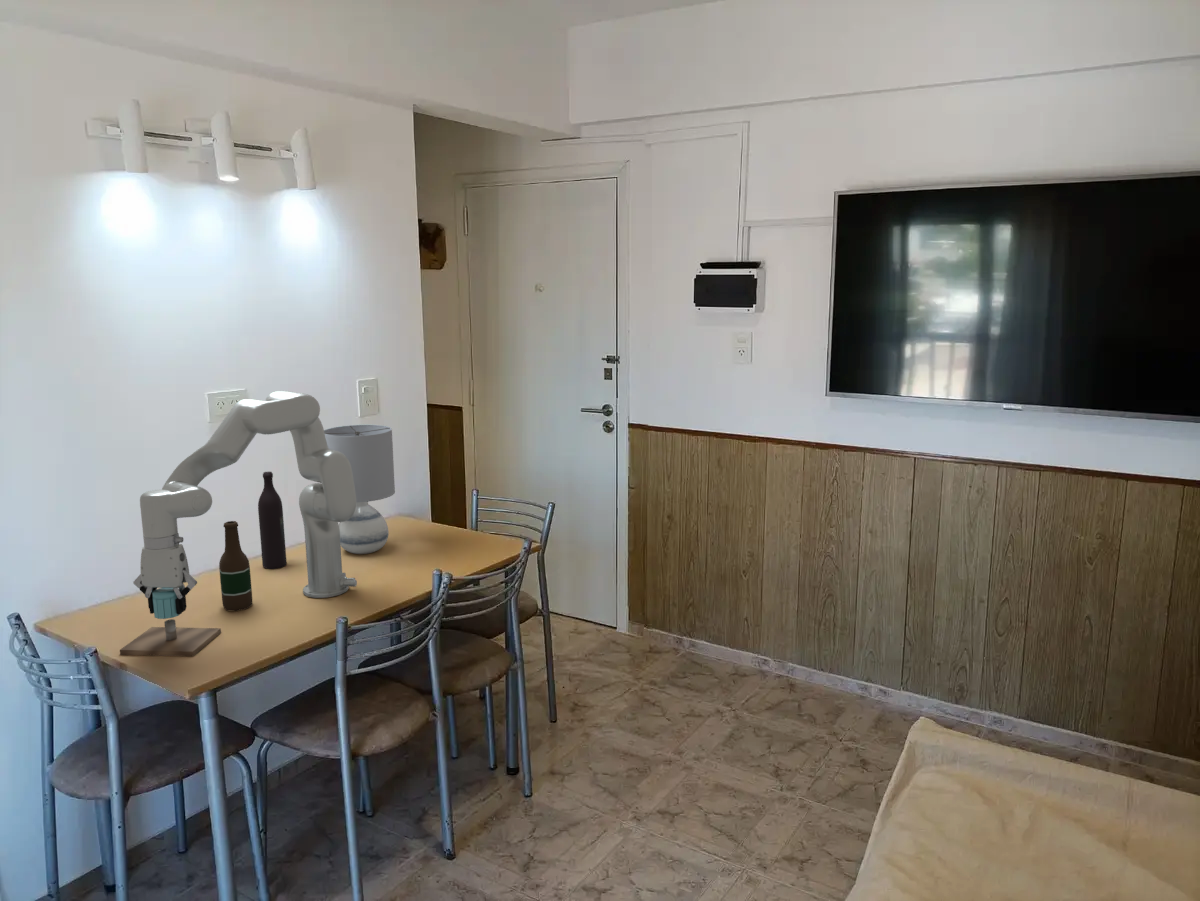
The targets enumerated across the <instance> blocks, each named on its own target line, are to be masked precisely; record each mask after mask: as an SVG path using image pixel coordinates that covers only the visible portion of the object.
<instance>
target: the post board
mask: <svg viewBox="0 0 1200 901" xmlns="http://www.w3.org/2000/svg"><path fill="white" fill-rule="evenodd" d="M163 623H164V626H151V627H150V628H148V629H146V630H145V631H144V632H142V633H141V634H140V635H139V636H137V637H136V638H134V639H133V640H132V641H130V642H129V643H127V644H126V645H124V646H123V647H121V648H120V649H119V655H121V656H122V655H123V656H128V655H129V656H167V657H169V656H170V657H171V656H172V657H195V655H197V654H198V653H199V652H200V651H201V650H203V649H204V648H205V647H206V646H207V645H209V643H211V642H212V641H213V640H214V639H216V638H217V637H218V636H219V635H221V633H222V630H221V629H222V628H219V627H218V628H217V627H215V628H213V627H176V626H177V625H176V619H174V618H173V619H172V618H170V619H168V620H167V619H165V621H164V622H163Z"/></svg>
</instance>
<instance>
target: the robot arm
mask: <svg viewBox="0 0 1200 901" xmlns="http://www.w3.org/2000/svg"><path fill="white" fill-rule="evenodd" d="M320 412H321V405H320V403H319V401H318V400H317V399H316V398H315V397H314V396H312V395H310V394H306V393H301V392H300V393H299V392H294V391H289V390H288V391H287V390H276V391H272V392H271V393H269V394H268V395H267V397H266V398H265V400H261V399H259V400H258V399H253V398H251V399H249V398H245V399H244V398H243V399H241V400H238V401H237V402H236V403H235V404H234V405H233V406H232V408H231V409H230V410H229V412H228V413H227V415H226V416H225V417H224V419H223V420H222V421H221V423H220V424H219V425H218V427H217V428H216V430H215V431H214V432H213V434H212V435H211V437H210V438H209V440H208V441H207V442H206V443H205V444H204V445H203V446H200V447H199V448H198V449H196V451H194V452H192V454H190V455H188V456H187V457H186V458H185V459H184V460H182V461H181V462H180V463H178V465H177V466H176V467H175V469H173V471H172V472H171V474H170V476H169V477H167V480H166V481H165V483H164V484H163V486H162V488H161V489H154V490H153V489H152V490H148V491H146V492H143V493H142V494H141V495H140V497H139V507H140V516H141V527H142V538H143V547H141V554H140V574H139V575H138V576H137V577H136V578H135V579H134V581H132V582H133V585H134V586H136V588H137V589H139V591H141V593H143V595H144V597H145V598H146V599H147V606H148V609H149V614H151V615H152V614H154V606H153V595H152V592H153V591H154V590H156V589H159V588H173V589H174V591H175V593H176V595H177V599H175V603H176V613H177V614H180V615H181V613H183V612H185V611H186V609H187V598H186V597H187V595H188V593H190V591H192V589H193V588H195V586H197V584H198V581H197V579H195V578H194V577H193V576H192V575H191V574H190V569H189V567H190V566H189V562H188V558H187V554H186V550H185V548H184V545H183V544H180V543H183V542H184V537H183V536H180V535H179V534H180V533H179V528H178V519H181V518H195V517H199V516H203V515H204V514H206V513H207V512H208V511H209V510H210V509H211V508H212V505H213V496H212V495H211V493H210V492H209V491H208V490H207V489H205V488H203V487H201V486H198V485H199V484H200V483H201V482H202V481H203V480H204V479H205V478H206V477H207V476H209V475H210V474H212V473H214V472H216V471H218V470H220V469H223V468H227V467H229V466H231V465H233V464H235V463H237V462H238V461H239V459H240V458H241V457H242V455H243V454H244V453H245V452H246V449H248V446H249V445H250V444H251V442H252V441H253V440H254V439H255V437H256V435H257V434H259V435H275V434H281V433H285V432H290V434H291V437H292V440H293V445H294V446H293V447H294V450H295V458H296V462H297V463H296V464H297V468H298V471H299V474H300V476H302V477H303V478H304V479H306V480H308V481H311V482H315V483H310V484H308V485H306V486H305V487H304V488H303V489H302V490H301V492H300V495H299V498H298V506H299V510H300V514H301V518H302V522H303V528H304V539H305V540H304V541H305V557H306V570H307V584H306V585H305V586H304V587H303V589H302V592H303V594H304V596H306V597H308V598H315V599H324V598H325V599H326V598H332V597H336V596H340V595H343V594H345V593H346V592H347V591H348V590H349V588H351V587H353V588H354V587H357V584H358V583H357V582H358V581H357V579H356V578H355V577H347V575H346V574H347V573H346V572H343V566H342V561H343V560H342V547H341V545H340V529H339V523H340V522H345V521H347V520H349V519H350V518H351V517H352V516H353V514H354V512H355V509H356V494H355V487H354V480H353V474H352V468H351V465H350V462H349V460H348V459H347V457H346V456H345V455H344V454H342V453H341V452H339V451H335V450H330V449H329V448H328V446H327V442H326V437H325V433H324V430H325V428H324V426H323V424H322V421H321V419H320V418H319V416H320V414H321V413H320ZM184 583H186V584H187V585H186V586H185V584H184Z"/></svg>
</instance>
